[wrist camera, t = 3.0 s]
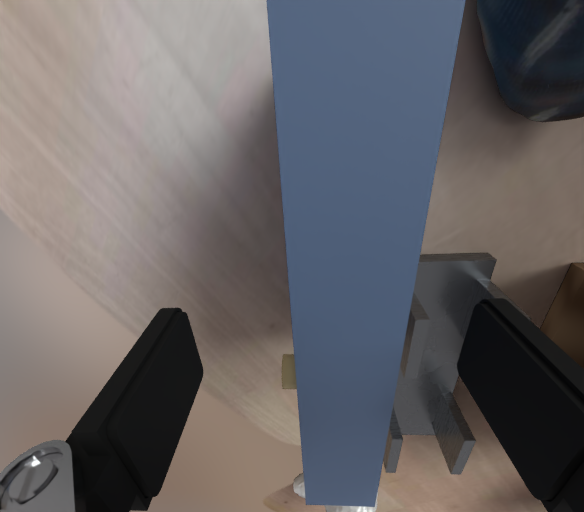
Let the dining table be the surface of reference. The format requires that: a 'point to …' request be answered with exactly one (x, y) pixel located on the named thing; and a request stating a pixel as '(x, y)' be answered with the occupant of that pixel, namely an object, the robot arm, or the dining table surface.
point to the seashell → (536, 55)
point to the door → (354, 213)
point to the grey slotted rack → (438, 354)
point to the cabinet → (568, 315)
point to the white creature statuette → (300, 490)
